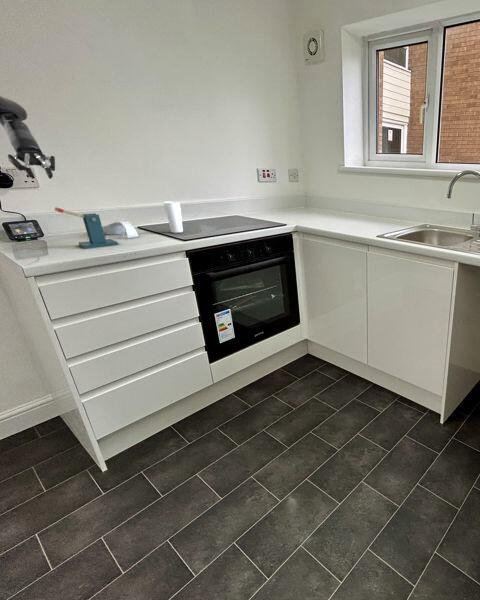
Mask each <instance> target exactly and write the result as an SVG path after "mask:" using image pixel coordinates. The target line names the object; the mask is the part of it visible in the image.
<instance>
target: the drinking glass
mask: <svg viewBox="0 0 480 600" xmlns="http://www.w3.org/2000/svg"><path fill="white" fill-rule="evenodd" d="M163 207H164V213H165V215H166V218H167V222H168V225H169V228H170V232H171V233H172V234H181V233H183V232H184V226H183V217H182V209H181V203H180V201H164V202H163Z"/></svg>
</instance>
